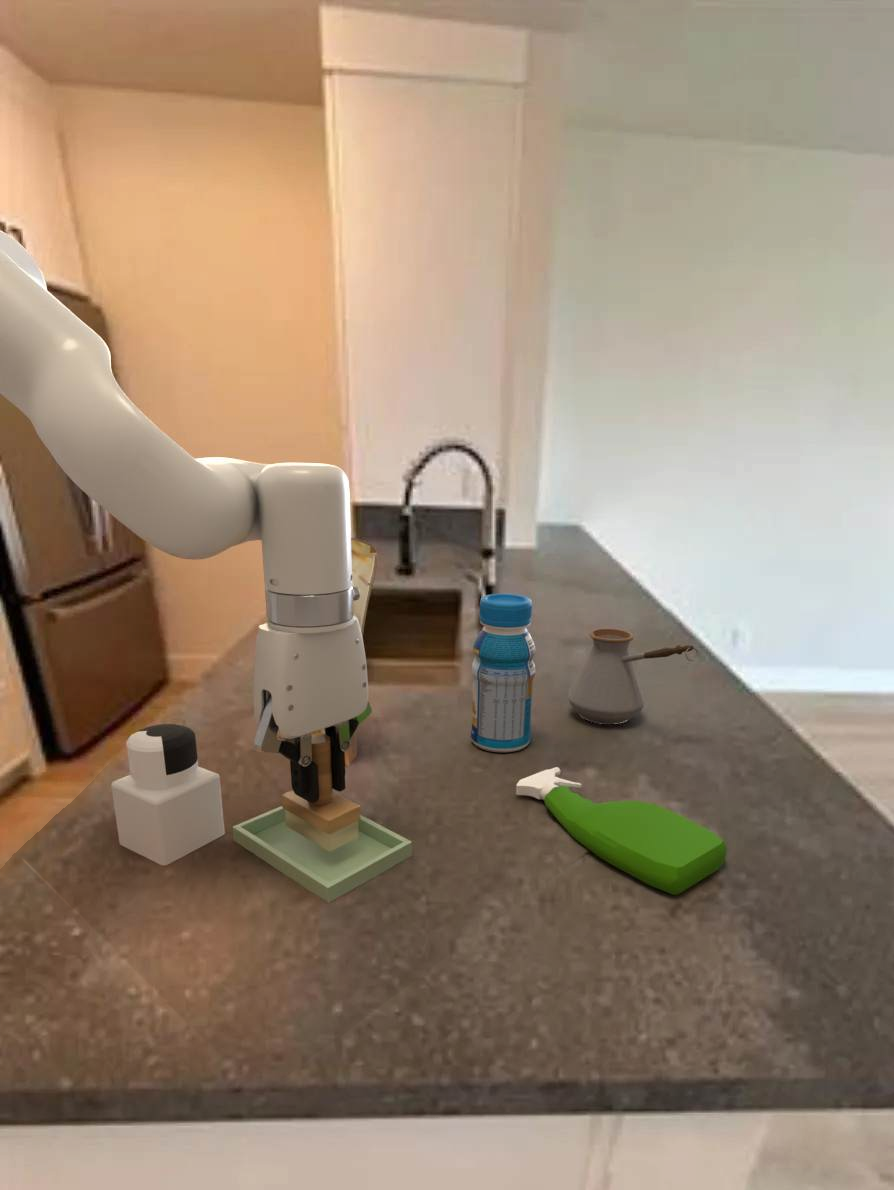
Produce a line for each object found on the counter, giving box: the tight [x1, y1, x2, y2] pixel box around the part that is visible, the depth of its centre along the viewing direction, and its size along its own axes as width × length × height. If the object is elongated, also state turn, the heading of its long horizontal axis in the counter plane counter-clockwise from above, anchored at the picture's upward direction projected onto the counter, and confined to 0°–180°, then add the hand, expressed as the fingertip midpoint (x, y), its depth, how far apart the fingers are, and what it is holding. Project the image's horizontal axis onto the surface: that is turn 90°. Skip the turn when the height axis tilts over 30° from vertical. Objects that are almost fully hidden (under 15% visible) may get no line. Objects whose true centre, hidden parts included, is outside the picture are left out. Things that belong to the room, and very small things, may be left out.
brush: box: [281, 734, 361, 852], centre depth 70 cm, size 7×4×10 cm, turn 50°
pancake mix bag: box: [312, 537, 378, 767], centre depth 92 cm, size 7×19×28 cm, turn 33°
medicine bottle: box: [110, 723, 226, 867], centre depth 71 cm, size 7×7×12 cm
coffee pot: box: [567, 628, 699, 724], centre depth 103 cm, size 21×12×15 cm, turn 34°
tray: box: [232, 805, 413, 904], centre depth 72 cm, size 15×10×2 cm
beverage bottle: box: [470, 593, 536, 753], centre depth 96 cm, size 8×8×20 cm
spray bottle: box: [515, 766, 728, 896], centre depth 78 cm, size 3×11×24 cm
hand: (319, 790), depth 70 cm, fingers closed on brush, 2 cm apart
